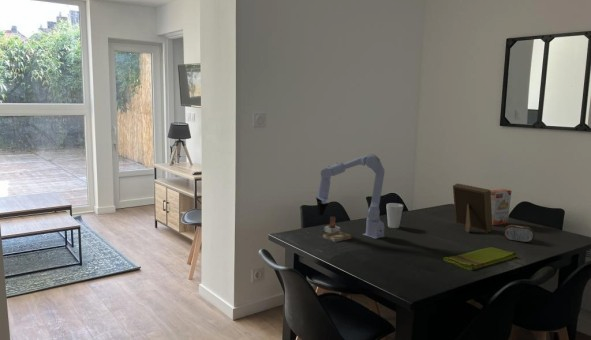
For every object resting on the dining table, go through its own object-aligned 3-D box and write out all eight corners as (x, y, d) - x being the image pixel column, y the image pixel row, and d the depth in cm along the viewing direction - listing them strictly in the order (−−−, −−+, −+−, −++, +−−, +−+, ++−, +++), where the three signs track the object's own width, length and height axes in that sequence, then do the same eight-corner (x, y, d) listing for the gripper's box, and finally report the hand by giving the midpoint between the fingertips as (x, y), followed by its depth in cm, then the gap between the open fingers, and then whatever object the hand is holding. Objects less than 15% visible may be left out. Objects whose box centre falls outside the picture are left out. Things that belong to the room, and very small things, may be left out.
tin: (533, 242, 252) (535, 227, 250) (533, 244, 249) (535, 228, 248) (503, 238, 258) (504, 223, 257) (502, 239, 255) (504, 224, 254)
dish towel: (442, 261, 220) (442, 254, 219) (489, 249, 239) (489, 243, 239) (470, 272, 207) (470, 265, 207) (517, 258, 227) (518, 252, 226)
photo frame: (460, 222, 288) (463, 182, 284) (492, 231, 270) (496, 188, 266) (444, 226, 280) (447, 184, 276) (476, 235, 262) (480, 191, 258)
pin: (336, 231, 260) (336, 217, 259) (332, 232, 258) (332, 218, 257) (332, 230, 263) (332, 216, 261) (328, 231, 261) (328, 217, 260)
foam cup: (400, 225, 279) (402, 203, 277) (402, 229, 270) (404, 207, 268) (384, 224, 280) (385, 202, 278) (386, 228, 271) (387, 206, 269)
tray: (351, 238, 249) (352, 235, 249) (335, 242, 242) (335, 239, 241) (338, 234, 257) (338, 230, 256) (322, 238, 249) (322, 234, 249)
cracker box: (493, 226, 282) (496, 192, 279) (485, 223, 287) (488, 190, 284) (508, 223, 289) (512, 190, 286) (500, 221, 294) (503, 188, 291)
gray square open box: (340, 232, 260) (340, 227, 260) (332, 234, 256) (332, 229, 256) (332, 230, 265) (332, 224, 265) (324, 231, 261) (324, 226, 261)
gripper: (315, 185, 265) (311, 208, 267) (318, 191, 250) (314, 215, 253) (327, 186, 265) (324, 210, 267) (331, 192, 251) (327, 217, 253)
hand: (320, 213), depth 260 cm, fingers open, 7 cm apart
